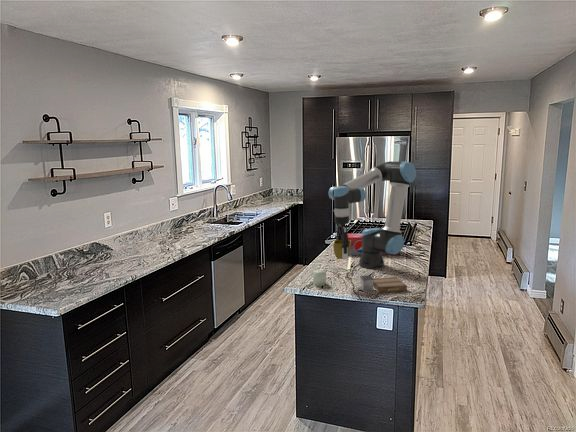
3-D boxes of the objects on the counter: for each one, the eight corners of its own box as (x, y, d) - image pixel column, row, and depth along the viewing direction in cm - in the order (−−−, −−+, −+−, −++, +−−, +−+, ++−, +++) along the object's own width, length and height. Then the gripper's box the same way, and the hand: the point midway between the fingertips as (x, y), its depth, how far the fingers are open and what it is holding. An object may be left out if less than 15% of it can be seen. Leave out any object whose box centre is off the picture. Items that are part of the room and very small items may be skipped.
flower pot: (351, 256, 227) (351, 240, 226) (350, 260, 219) (349, 244, 217) (335, 255, 229) (334, 239, 228) (333, 260, 221) (332, 243, 219)
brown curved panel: (371, 284, 224) (371, 278, 223) (396, 282, 225) (396, 277, 225) (380, 293, 210) (380, 287, 209) (406, 291, 211) (406, 285, 211)
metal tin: (360, 288, 218) (360, 275, 217) (370, 287, 218) (370, 275, 217) (363, 291, 213) (363, 279, 211) (373, 291, 213) (373, 278, 212)
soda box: (399, 251, 291) (399, 233, 289) (401, 256, 277) (401, 237, 275) (341, 250, 298) (340, 232, 296) (339, 255, 285) (339, 236, 283)
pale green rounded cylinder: (312, 282, 230) (312, 269, 229) (324, 281, 231) (324, 269, 229) (314, 286, 223) (314, 273, 222) (327, 285, 224) (327, 272, 223)
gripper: (330, 212, 231) (331, 251, 235) (339, 220, 208) (340, 263, 212) (343, 211, 231) (344, 250, 235) (354, 219, 209) (355, 261, 213)
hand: (342, 256), depth 224 cm, fingers closed on flower pot, 10 cm apart
